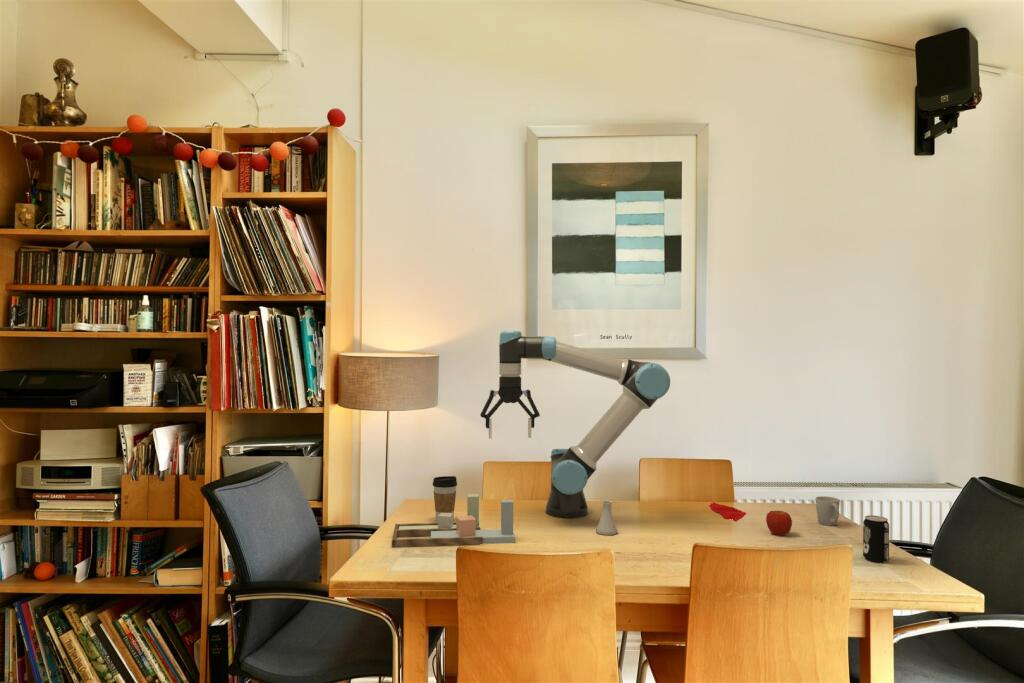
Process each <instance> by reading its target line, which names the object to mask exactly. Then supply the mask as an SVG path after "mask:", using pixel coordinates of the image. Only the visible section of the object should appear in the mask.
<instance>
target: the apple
mask: <svg viewBox="0 0 1024 683" xmlns="http://www.w3.org/2000/svg"><path fill="white" fill-rule="evenodd" d="M765 521H766V526H767V529H768V530H769V532H771V533H772V535H775V536H785V535H788V534H789V533H790V531H791V530H792V526H793V520H792V517H791V515H790V514H789V513H788V512H786V511H783V510H770V511H769V512H767V513H766V517H765Z"/></svg>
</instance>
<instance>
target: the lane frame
mask: <svg viewBox="0 0 1024 683" xmlns="http://www.w3.org/2000/svg"><path fill="white" fill-rule="evenodd" d="M426 525H438V522H422V523H421V522H420V523H419V522H418V523H415V522H414V523H395V525H394V530H393V534H392V537H391V538H392V539H391V547H392V548H395V549H396V548H421V547H422V548H423V547H425V548H427V547H454V546H455V547H459V546H460V547H461V546H463V547H464V546H481V545H480V544H483V545H484V543H483V537H450V538H431V531H454V530H456V528H438V529H400V530H399V526H426ZM453 525H456V521H455V522H454V521H453ZM476 530H482V529H481V526H479V527H476Z"/></svg>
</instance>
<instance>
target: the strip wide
mask: <svg viewBox="0 0 1024 683" xmlns="http://www.w3.org/2000/svg"><path fill="white" fill-rule="evenodd" d="M450 537H459V535H458V534H457V533H456V530H454V531H431V537H430V538H450ZM466 537H483V544H510V543H511V544H515V543H516V536H515V534H514V500H513V499H501V500H500V528H497V529H496V528H495V529H494V528H491V529H481V530H476V536H466Z"/></svg>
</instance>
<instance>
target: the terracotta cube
mask: <svg viewBox="0 0 1024 683" xmlns="http://www.w3.org/2000/svg"><path fill="white" fill-rule="evenodd" d="M455 519H456V521H455V522H456V533H457V534H458V535H459V537H466V536H476V519H475V518H474V517H473V516H472V515H470V516H467V515H459V516H458V515H457V516H456V517H455Z"/></svg>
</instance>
